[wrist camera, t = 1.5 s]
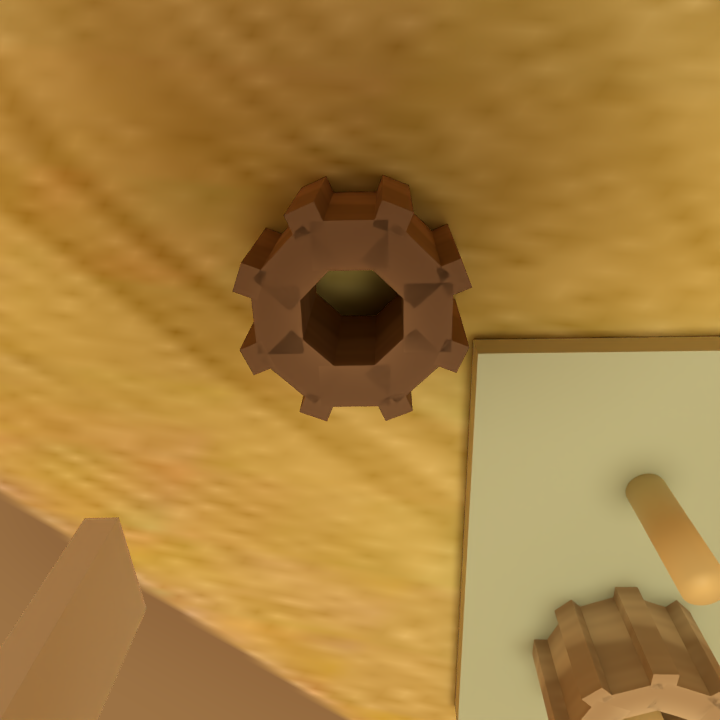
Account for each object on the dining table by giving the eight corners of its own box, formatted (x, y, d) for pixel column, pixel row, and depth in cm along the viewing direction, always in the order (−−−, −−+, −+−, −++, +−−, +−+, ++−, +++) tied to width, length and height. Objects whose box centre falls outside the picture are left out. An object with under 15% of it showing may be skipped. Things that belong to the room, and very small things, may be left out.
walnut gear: (250, 178, 25) (221, 203, 21) (459, 172, 25) (476, 197, 20) (269, 365, 29) (248, 421, 24) (452, 363, 28) (465, 420, 24)
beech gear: (514, 615, 33) (534, 704, 28) (676, 569, 31) (725, 656, 27) (560, 715, 36) (586, 809, 31) (710, 677, 34) (759, 771, 30)
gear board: (473, 339, 28) (501, 429, 21) (849, 334, 27) (1003, 425, 20) (454, 706, 38) (470, 845, 31) (727, 709, 37) (803, 852, 31)
